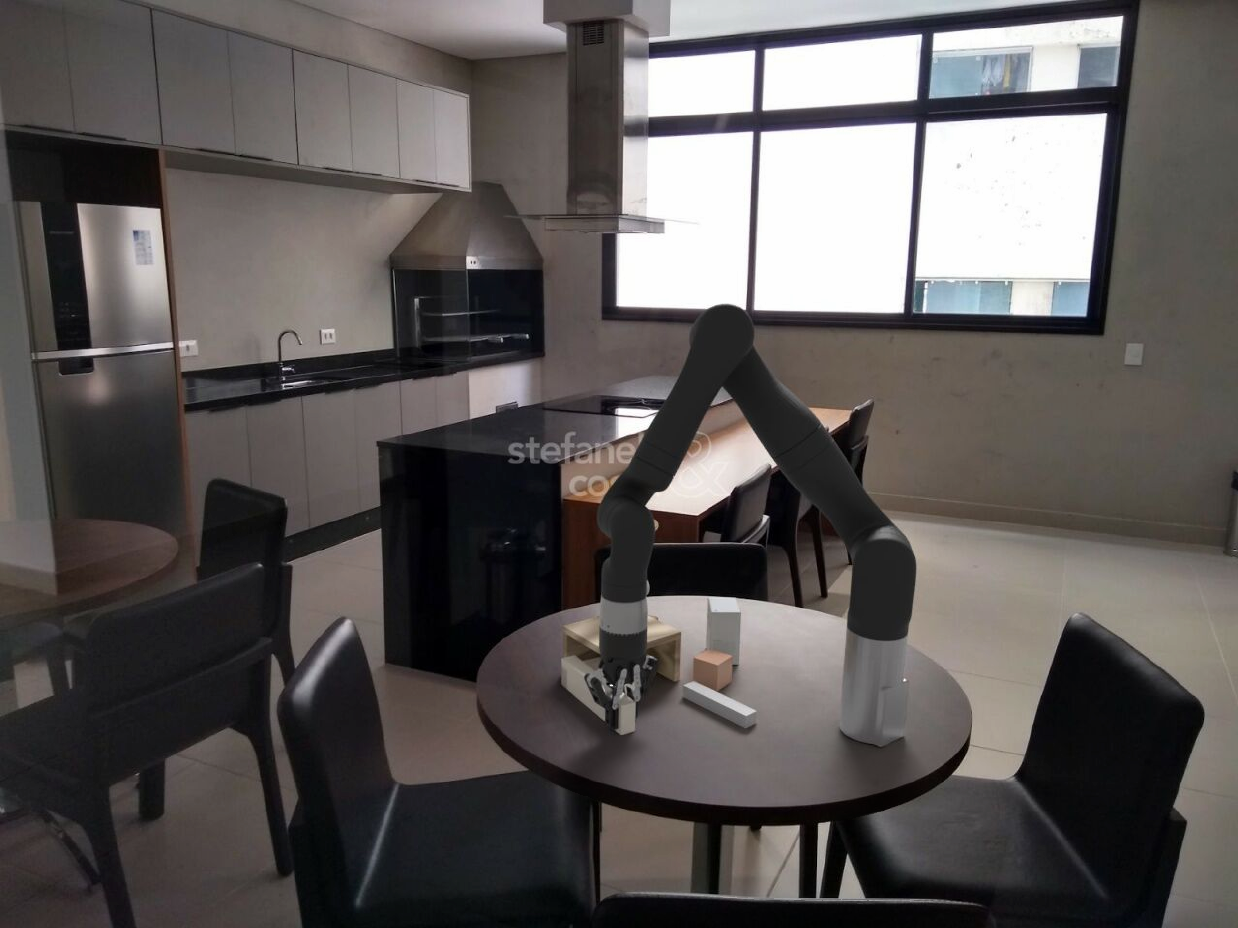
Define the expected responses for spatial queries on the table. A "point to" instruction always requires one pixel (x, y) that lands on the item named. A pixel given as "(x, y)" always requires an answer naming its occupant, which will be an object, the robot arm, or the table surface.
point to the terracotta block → (713, 669)
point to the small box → (724, 626)
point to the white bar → (576, 684)
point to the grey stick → (720, 704)
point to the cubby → (660, 645)
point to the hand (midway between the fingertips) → (621, 723)
